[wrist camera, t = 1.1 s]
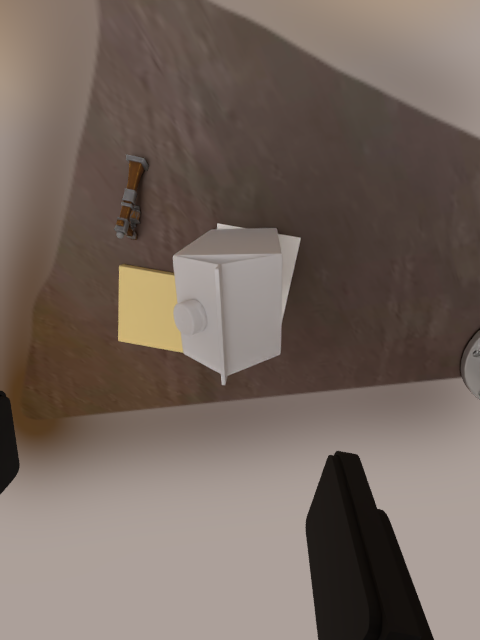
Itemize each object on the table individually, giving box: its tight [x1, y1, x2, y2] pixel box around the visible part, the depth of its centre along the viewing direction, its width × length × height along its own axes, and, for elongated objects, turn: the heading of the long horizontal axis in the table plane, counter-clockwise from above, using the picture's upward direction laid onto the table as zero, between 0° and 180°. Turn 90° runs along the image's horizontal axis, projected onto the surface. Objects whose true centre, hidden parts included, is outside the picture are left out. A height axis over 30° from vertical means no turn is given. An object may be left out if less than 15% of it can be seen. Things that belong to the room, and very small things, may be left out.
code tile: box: [217, 224, 301, 323], centre depth 37 cm, size 9×12×1 cm
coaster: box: [118, 264, 184, 353], centre depth 38 cm, size 10×10×1 cm
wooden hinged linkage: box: [114, 155, 149, 240], centre depth 33 cm, size 2×8×4 cm, turn 169°
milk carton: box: [173, 228, 282, 385], centre depth 27 cm, size 7×7×19 cm
